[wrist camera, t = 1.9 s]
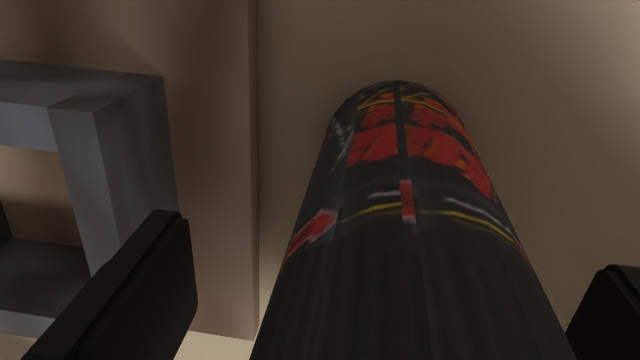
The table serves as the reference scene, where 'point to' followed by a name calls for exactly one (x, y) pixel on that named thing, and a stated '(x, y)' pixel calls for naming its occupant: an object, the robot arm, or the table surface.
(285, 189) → the table surface
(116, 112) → the holder
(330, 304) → the deodorant
